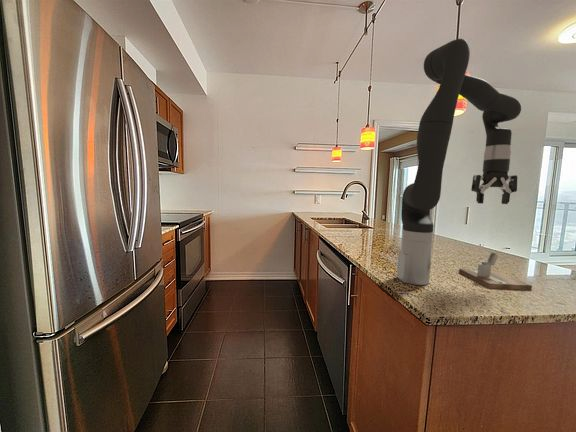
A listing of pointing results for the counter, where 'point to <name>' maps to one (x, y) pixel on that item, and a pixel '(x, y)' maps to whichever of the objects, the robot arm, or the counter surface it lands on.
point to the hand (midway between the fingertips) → (492, 203)
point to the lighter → (487, 265)
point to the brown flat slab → (496, 280)
